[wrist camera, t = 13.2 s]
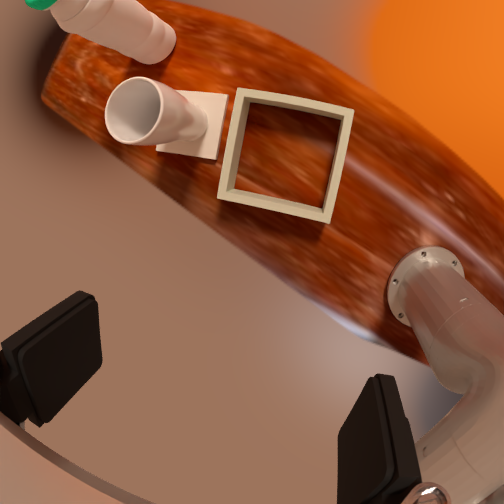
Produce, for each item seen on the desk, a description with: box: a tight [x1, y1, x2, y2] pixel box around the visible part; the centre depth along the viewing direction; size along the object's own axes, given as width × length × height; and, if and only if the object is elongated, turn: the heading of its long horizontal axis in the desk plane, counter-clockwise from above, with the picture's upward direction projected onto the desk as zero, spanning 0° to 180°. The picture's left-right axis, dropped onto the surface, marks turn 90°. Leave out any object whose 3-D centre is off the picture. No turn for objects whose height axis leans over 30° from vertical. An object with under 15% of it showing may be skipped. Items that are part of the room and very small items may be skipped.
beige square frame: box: [217, 88, 354, 224], centre depth 37 cm, size 14×14×4 cm
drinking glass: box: [105, 77, 208, 145], centre depth 32 cm, size 7×7×15 cm
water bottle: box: [25, 0, 176, 64], centre depth 25 cm, size 7×7×25 cm
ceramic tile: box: [156, 90, 229, 160], centre depth 39 cm, size 9×9×1 cm
